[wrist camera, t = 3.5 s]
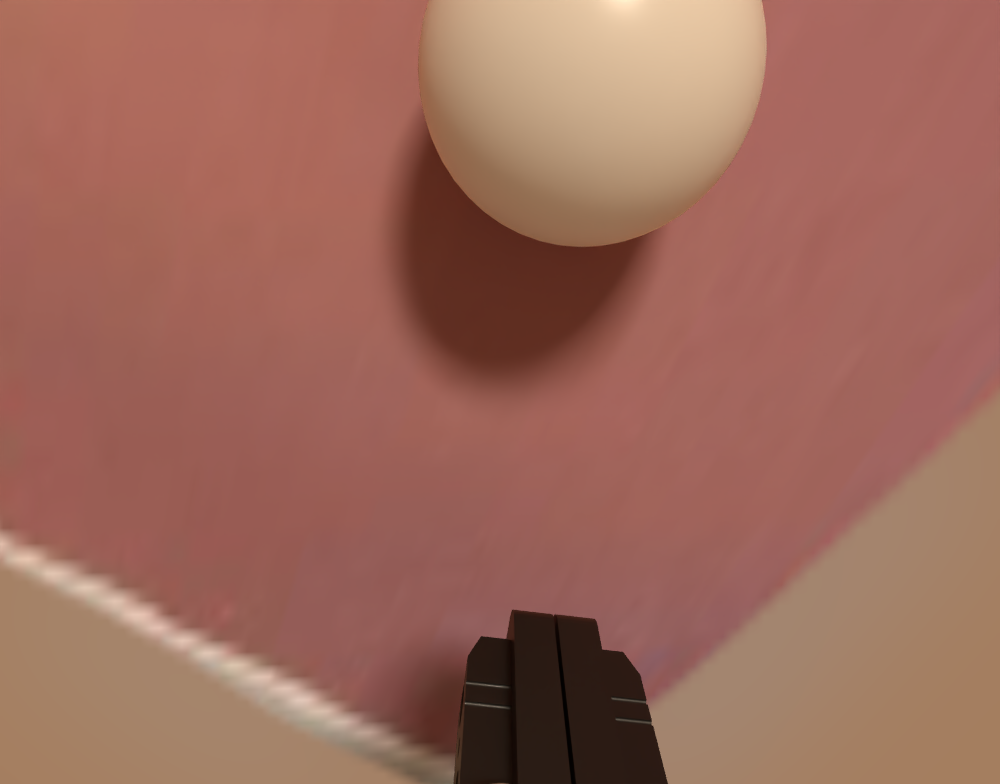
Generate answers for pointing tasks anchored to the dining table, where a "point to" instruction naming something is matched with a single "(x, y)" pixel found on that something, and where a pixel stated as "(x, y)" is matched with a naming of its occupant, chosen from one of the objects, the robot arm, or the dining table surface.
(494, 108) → the cue ball
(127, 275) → the dining table surface
